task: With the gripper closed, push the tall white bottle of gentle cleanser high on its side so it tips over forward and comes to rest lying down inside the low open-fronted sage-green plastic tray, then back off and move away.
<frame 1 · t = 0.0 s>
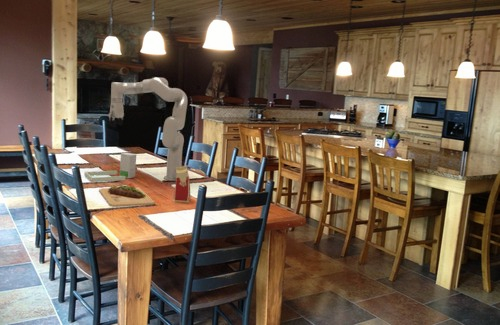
hand: (116, 125, 316), 31 cm above the table, tool pointing down, fingers open, 9 cm apart
milk carton: (181, 200, 259), on the table
tray: (104, 177, 297), on the table
skincare box: (127, 177, 305), on the table
cutting board: (125, 198, 256), on the table
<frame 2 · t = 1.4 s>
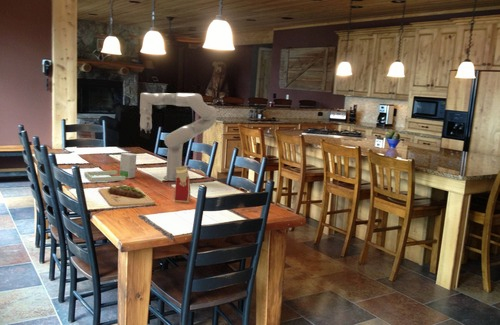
hand: (145, 137, 306), 26 cm above the table, tool pointing down, fingers open, 8 cm apart
nothing on the table moved.
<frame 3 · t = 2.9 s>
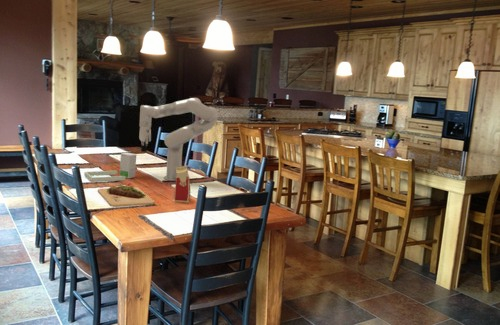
hand: (143, 151, 308), 17 cm above the table, tool pointing down, fingers closed
nothing on the table moved.
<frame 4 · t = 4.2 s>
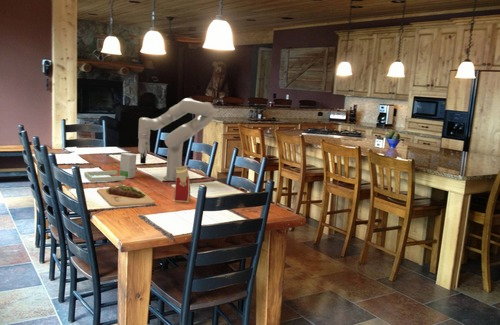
hand: (142, 163, 309), 9 cm above the table, tool pointing down, fingers closed
nothing on the table moved.
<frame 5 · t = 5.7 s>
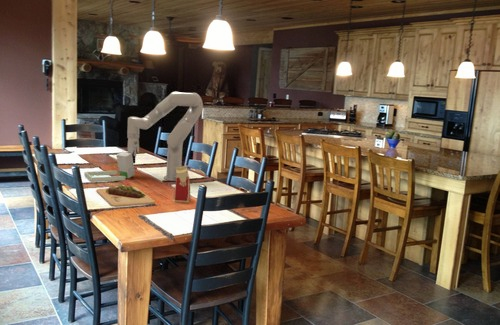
hand: (132, 163, 305), 9 cm above the table, tool pointing down, fingers closed
skincare box: (127, 175, 305), point 1 cm above the table, touching gripper
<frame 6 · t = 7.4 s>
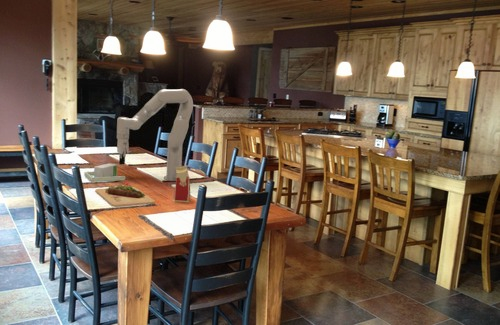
hand: (122, 164, 301), 9 cm above the table, tool pointing down, fingers closed
skincare box: (113, 169, 304), point 4 cm above the table
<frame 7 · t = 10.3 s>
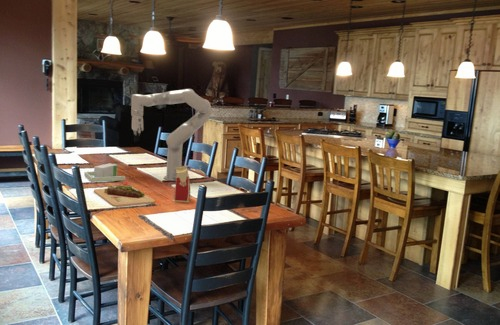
hand: (136, 141, 303), 24 cm above the table, tool pointing down, fingers closed
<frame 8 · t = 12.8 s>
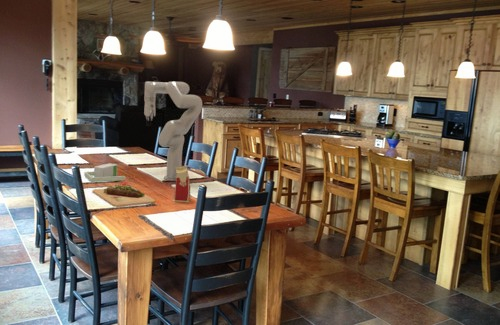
hand: (148, 126, 322), 32 cm above the table, tool pointing down, fingers closed
at the end: skincare box inside the target area on the tray (6.9 cm from its centre), point 4.3 cm above the tray's base; skincare box tilted 92°; skincare box moved 10.4 cm from its start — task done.
